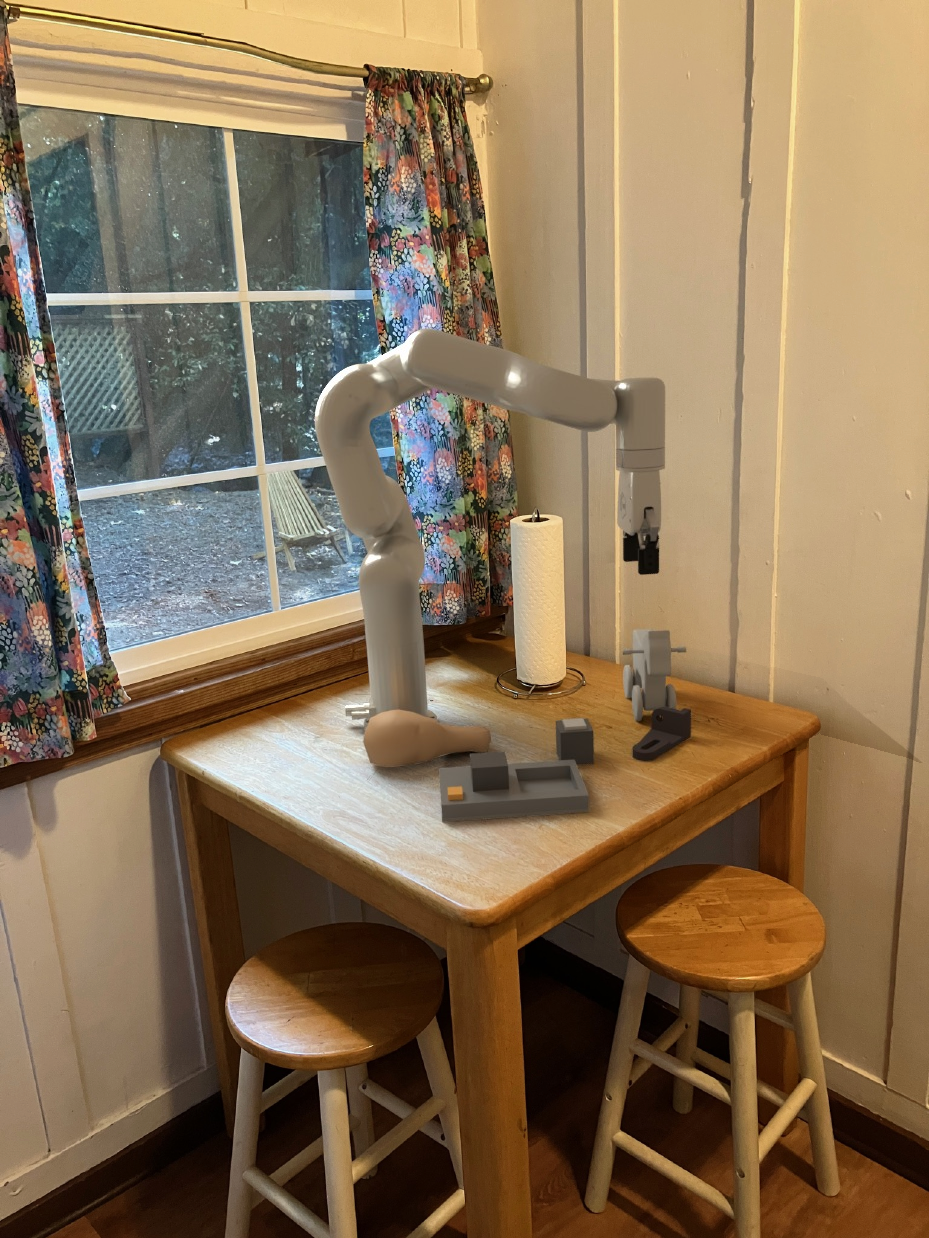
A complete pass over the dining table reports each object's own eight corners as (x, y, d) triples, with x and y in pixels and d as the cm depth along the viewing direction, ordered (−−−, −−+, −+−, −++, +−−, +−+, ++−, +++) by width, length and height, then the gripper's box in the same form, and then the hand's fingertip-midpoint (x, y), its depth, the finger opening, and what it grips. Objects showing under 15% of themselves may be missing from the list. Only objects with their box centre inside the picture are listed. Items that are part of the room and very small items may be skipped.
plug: (561, 766, 146) (560, 729, 144) (556, 753, 151) (555, 717, 149) (593, 764, 146) (593, 727, 144) (588, 751, 151) (587, 715, 149)
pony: (692, 731, 156) (693, 632, 152) (628, 733, 157) (628, 634, 152) (669, 689, 176) (670, 600, 171) (612, 692, 176) (611, 603, 172)
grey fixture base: (442, 821, 130) (439, 781, 129) (439, 783, 142) (437, 746, 140) (589, 812, 131) (588, 771, 129) (574, 774, 142) (574, 737, 141)
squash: (356, 759, 153) (357, 703, 152) (476, 756, 158) (478, 701, 158) (367, 774, 142) (369, 714, 142) (496, 770, 148) (498, 712, 147)
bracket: (616, 755, 149) (616, 725, 148) (659, 730, 158) (659, 702, 157) (648, 765, 145) (648, 734, 144) (690, 738, 154) (691, 709, 153)
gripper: (604, 455, 158) (605, 558, 162) (630, 467, 141) (630, 581, 146) (649, 453, 158) (649, 555, 163) (680, 464, 141) (679, 577, 146)
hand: (640, 567), depth 154 cm, fingers open, 9 cm apart
